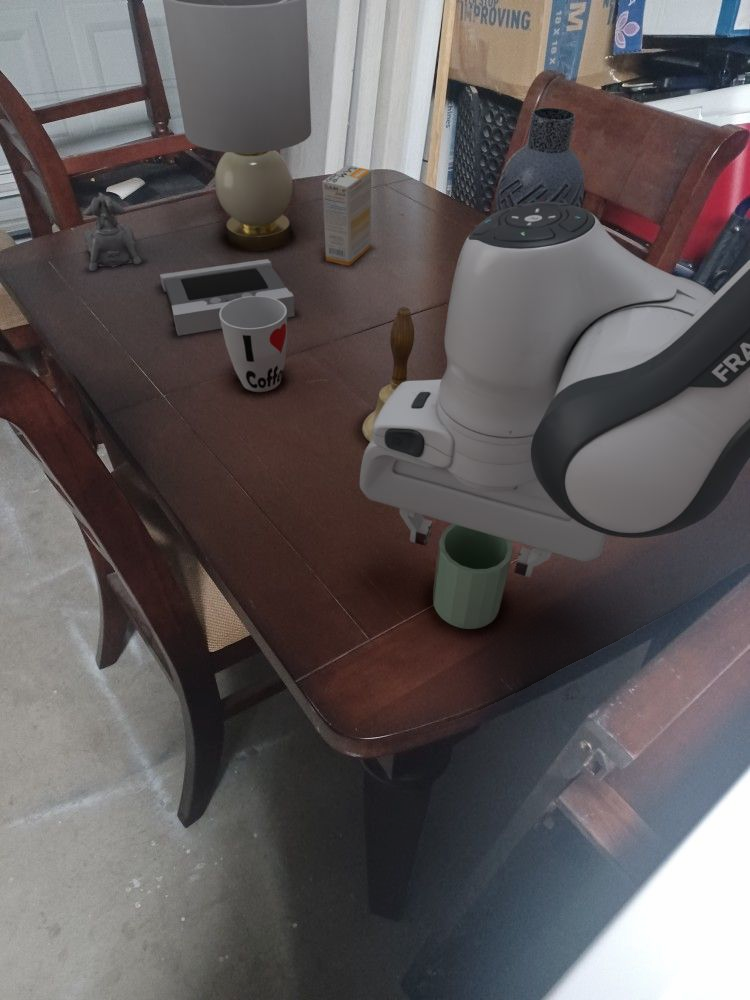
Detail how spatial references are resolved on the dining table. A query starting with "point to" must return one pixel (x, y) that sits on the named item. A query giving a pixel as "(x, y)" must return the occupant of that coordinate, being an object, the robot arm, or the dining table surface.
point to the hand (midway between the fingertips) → (471, 554)
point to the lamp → (245, 103)
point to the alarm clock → (219, 292)
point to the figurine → (109, 235)
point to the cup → (256, 340)
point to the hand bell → (401, 351)
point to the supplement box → (347, 214)
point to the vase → (543, 164)
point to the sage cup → (470, 576)
